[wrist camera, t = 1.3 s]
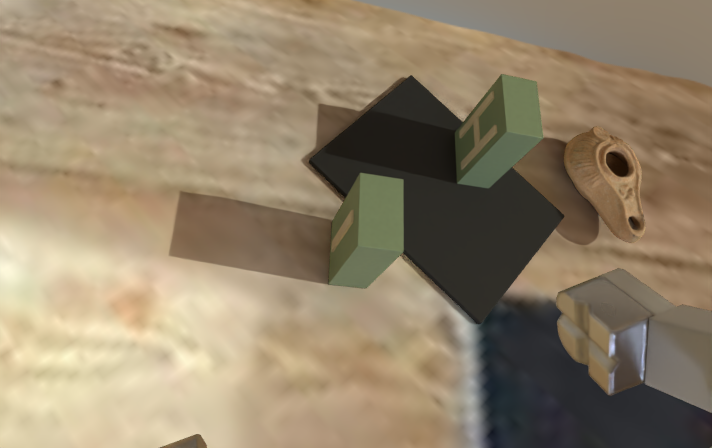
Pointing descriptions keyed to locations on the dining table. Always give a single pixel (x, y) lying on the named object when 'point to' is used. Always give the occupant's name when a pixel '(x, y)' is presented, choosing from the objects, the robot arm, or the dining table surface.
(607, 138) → the pottery oil lamp
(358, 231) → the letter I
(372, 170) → the word mat
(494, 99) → the letter H
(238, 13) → the dining table surface
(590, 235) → the dining table surface
